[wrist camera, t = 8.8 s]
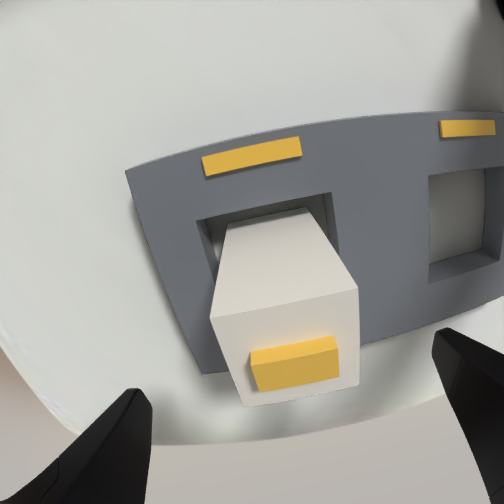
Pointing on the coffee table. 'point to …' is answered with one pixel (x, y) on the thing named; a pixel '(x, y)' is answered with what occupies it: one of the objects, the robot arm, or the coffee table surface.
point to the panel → (333, 213)
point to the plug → (285, 310)
